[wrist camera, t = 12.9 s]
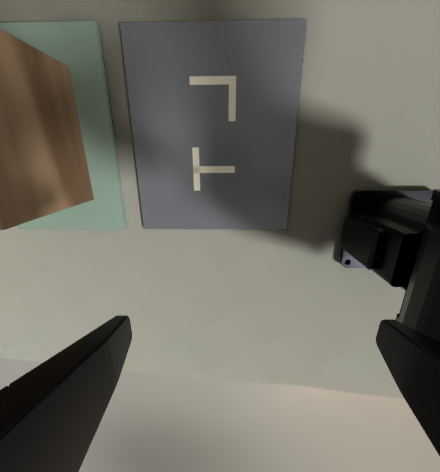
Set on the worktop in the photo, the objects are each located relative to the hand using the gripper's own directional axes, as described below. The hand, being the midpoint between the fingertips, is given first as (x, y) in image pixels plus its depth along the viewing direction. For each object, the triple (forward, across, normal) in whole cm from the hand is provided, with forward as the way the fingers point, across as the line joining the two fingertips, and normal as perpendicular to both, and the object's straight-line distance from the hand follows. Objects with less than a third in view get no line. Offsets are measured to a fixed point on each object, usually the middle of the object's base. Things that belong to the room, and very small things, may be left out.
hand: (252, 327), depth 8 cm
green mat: (+12, +14, -7) cm, 20 cm away
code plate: (+12, +2, -7) cm, 14 cm away
